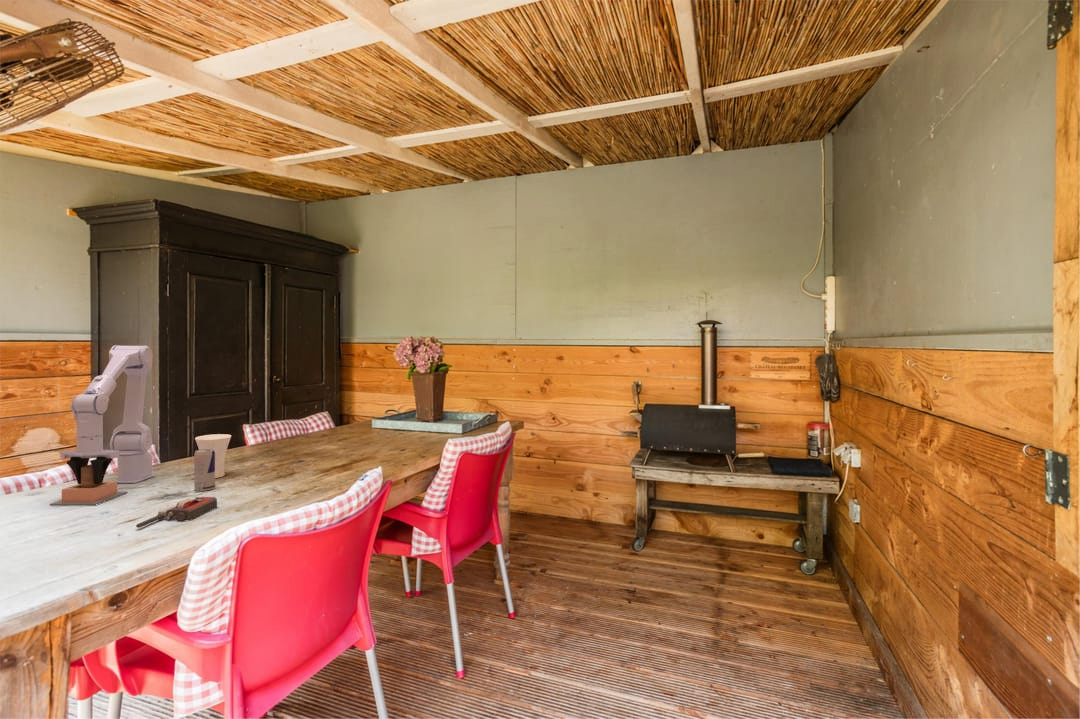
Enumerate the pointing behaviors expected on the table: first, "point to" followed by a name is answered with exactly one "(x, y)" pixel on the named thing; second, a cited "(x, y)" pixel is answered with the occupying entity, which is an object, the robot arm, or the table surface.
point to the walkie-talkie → (184, 510)
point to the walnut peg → (87, 477)
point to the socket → (89, 494)
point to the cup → (215, 449)
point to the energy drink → (204, 470)
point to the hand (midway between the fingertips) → (90, 483)
